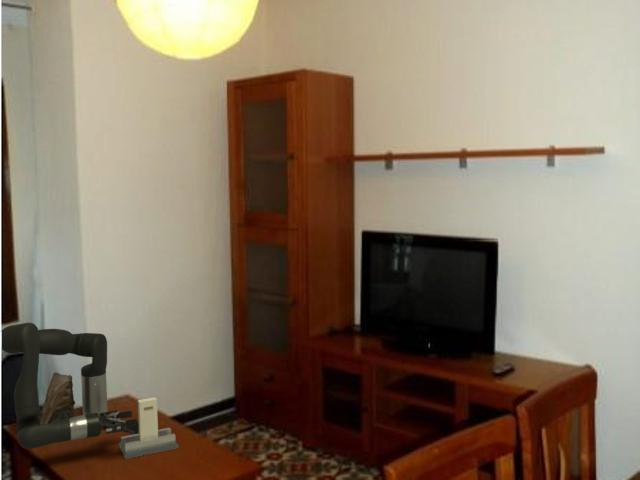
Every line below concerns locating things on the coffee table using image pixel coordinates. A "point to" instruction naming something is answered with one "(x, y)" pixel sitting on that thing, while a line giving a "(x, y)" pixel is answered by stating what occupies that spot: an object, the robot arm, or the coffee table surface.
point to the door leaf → (147, 418)
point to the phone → (133, 429)
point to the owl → (58, 399)
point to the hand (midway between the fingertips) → (134, 417)
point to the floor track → (147, 444)
